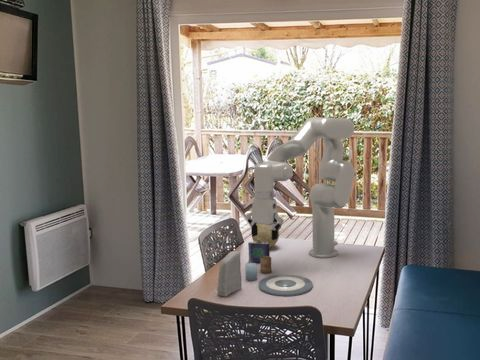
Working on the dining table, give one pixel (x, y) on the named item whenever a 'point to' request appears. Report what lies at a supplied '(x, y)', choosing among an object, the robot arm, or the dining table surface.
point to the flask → (258, 250)
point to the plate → (285, 285)
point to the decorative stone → (229, 274)
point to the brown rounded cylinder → (265, 264)
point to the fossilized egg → (265, 234)
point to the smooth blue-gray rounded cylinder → (251, 271)
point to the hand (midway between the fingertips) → (264, 237)
